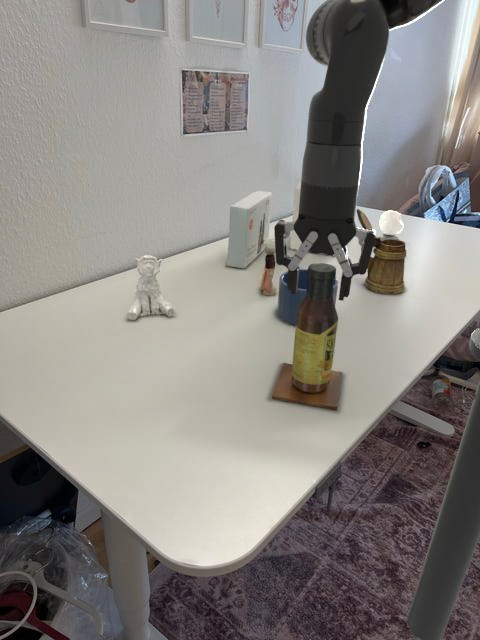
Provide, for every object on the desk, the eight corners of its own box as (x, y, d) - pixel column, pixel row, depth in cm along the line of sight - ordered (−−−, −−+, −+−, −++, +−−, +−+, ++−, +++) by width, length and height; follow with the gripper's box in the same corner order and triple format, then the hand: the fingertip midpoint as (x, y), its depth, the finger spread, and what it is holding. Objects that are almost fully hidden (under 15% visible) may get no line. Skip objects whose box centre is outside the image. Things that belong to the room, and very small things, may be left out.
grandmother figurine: (256, 286, 114) (258, 234, 108) (271, 285, 114) (274, 233, 109) (264, 299, 107) (266, 245, 101) (280, 298, 108) (284, 244, 102)
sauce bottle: (329, 397, 74) (345, 278, 65) (288, 392, 75) (299, 274, 66) (329, 374, 80) (344, 261, 71) (292, 370, 81) (302, 258, 72)
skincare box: (246, 269, 123) (248, 208, 116) (226, 266, 125) (227, 206, 117) (270, 246, 141) (273, 191, 134) (252, 243, 142) (254, 189, 135)
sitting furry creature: (127, 321, 96) (122, 265, 91) (125, 303, 103) (120, 250, 98) (174, 317, 98) (172, 261, 93) (168, 299, 106) (166, 247, 100)
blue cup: (336, 306, 105) (340, 272, 101) (331, 331, 94) (335, 294, 91) (282, 299, 107) (285, 266, 104) (272, 323, 97) (274, 286, 93)
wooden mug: (350, 274, 122) (359, 204, 113) (405, 283, 117) (419, 210, 109) (343, 287, 114) (353, 213, 106) (402, 297, 110) (417, 220, 102)
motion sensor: (401, 239, 149) (406, 215, 146) (376, 236, 151) (380, 212, 148) (401, 232, 156) (405, 208, 153) (377, 230, 158) (381, 206, 155)
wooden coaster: (341, 374, 81) (341, 371, 80) (336, 410, 72) (337, 407, 72) (283, 365, 83) (283, 362, 83) (271, 398, 74) (271, 395, 74)
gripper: (270, 180, 61) (264, 299, 68) (387, 188, 58) (367, 312, 65) (281, 170, 67) (274, 280, 75) (386, 177, 64) (368, 291, 72)
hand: (317, 295), depth 70 cm, fingers open, 6 cm apart
